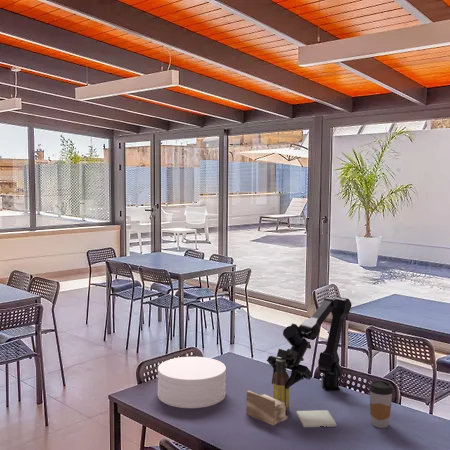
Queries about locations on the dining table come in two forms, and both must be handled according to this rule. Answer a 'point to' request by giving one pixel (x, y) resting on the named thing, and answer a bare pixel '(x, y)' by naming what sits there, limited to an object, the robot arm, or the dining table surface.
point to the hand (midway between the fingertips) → (279, 386)
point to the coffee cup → (380, 403)
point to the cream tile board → (316, 418)
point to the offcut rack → (265, 408)
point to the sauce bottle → (281, 382)
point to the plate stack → (191, 382)
